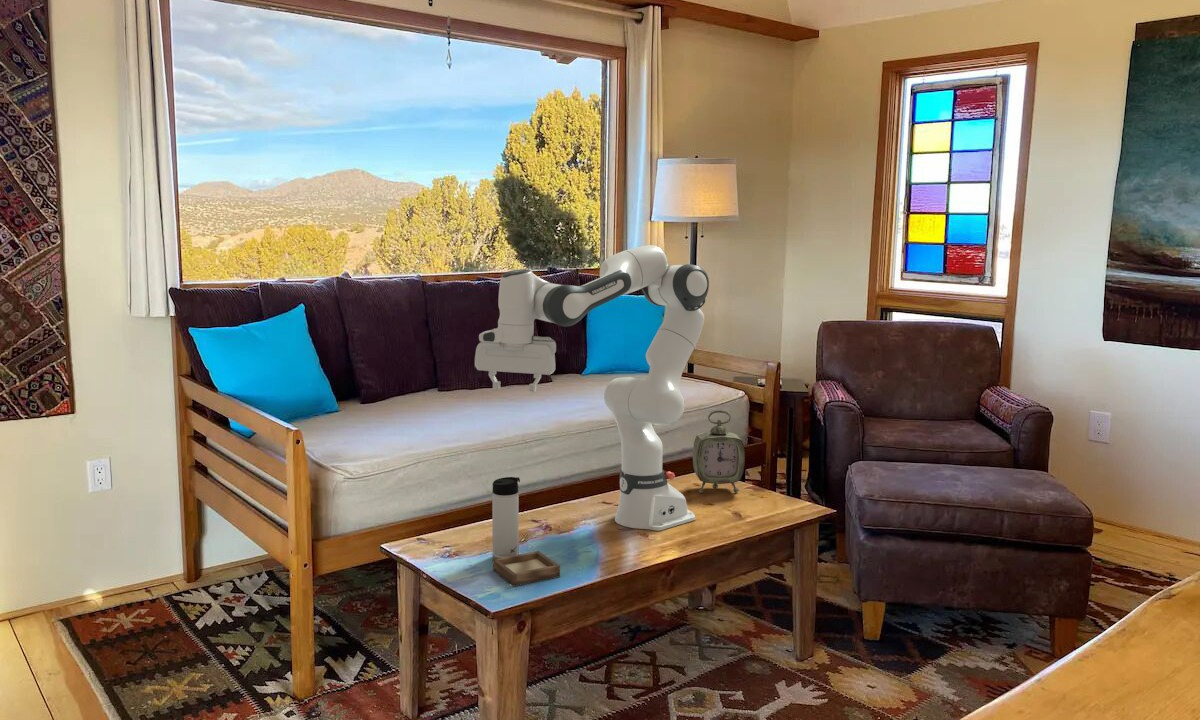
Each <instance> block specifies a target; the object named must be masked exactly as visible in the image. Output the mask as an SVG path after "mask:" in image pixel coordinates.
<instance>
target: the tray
mask: <svg viewBox="0 0 1200 720" xmlns="http://www.w3.org/2000/svg"><path fill="white" fill-rule="evenodd" d="M492 571H493V572H494V573H495V574H497V575H498V576H499V577H501V579H503V580H504V581H505V582H506V583H508V584H509V585H510V584H511V585H512V586H511V585H510V586H511V587H515V586H514V585H518V586H521V585H520V584H523V585H526V584H527V583H528V584H531V583H535V582H536V583H537V582H542V581H545V580H551V578H552V579H556V578H561V565H560V564H558V563H557V562H556V561H554V560H552V559H551V558H549V557H548V556H547V555H545V554H544V553H542V552H541V551H539V550H536V551H531V552H527V553H519V555H515V556H509V557H504V558H499V559H493V558H492Z"/></svg>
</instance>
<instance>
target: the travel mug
mask: <svg viewBox="0 0 1200 720" xmlns="http://www.w3.org/2000/svg"><path fill="white" fill-rule="evenodd" d="M518 483H521V478H520V477H519V476H518V477H515V476H506V477H505V476H504V477H501V478H498V479H494V481H493V482H492V496H491V499H492V503H491V506H492V510H491V511H492V513H491V514H492V529H491V530H492V560H493V559H499V558H504V557H509V556H515V555H520V553H519V549H520V547H519V537H520V536H519V530H520V529H519V518H520V517H519V513H520V512H519V506H520V504H519V503H520V502H519V484H518Z"/></svg>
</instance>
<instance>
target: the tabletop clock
mask: <svg viewBox="0 0 1200 720" xmlns="http://www.w3.org/2000/svg"><path fill="white" fill-rule="evenodd" d="M717 413H718V414H719V413H723V414H726V415H727V416H728V417H729V418H728V419H727V420H725V421H722V420H721V419H717V421H713V420H712V419H710V417H711V416H712V415H714V414H717ZM731 419H732V415H731V414H730V413H729V412H728V411H726V410H713V411H711V412H710V413H709V414H708V416H707V420H708V422H710V423H712V424H714V425H713V426H712V427H711V429H710V431H705V432H701V433H698V434H696V436H695V439H694V442H693V449H692V465H693V470H694V473H695V475H696V477H697V479H699V481H700V482H701V483H702V485H701V487H700V488H699V487H698V493H700V494H703V493H704V491H705V490H704V487H705V485H706V484H712V488H713V489H714V490H715V489H716V490H717V489H718V488H719V485H722V484H731V485H732V487H733V492H734V493H735V494H737V493H739V491H740V489H739V487H736V484H735V483H737V482H740V481H741V479H742V477H743V474H744V471H745V462H746V457H745V446H744V441H743V440H742V439H741V438H740V437H739V436H738V434H735V433H734V432H731V431H730V432H729V431H728V429H727V428H726V427H725V426H724V425H725V424H727V423H729V422H730V421H731Z"/></svg>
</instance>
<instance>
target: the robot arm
mask: <svg viewBox="0 0 1200 720" xmlns="http://www.w3.org/2000/svg"><path fill="white" fill-rule="evenodd" d="M709 287H710V280H709V275H708V273H707V272H706V270H705V269H704V268H702V267H700V266H698V265H695V264H692V263H690V264H689V263H688V264H687V263H686V264H674V265H671V264H669V263H668V258H667V255H666V253H665V252H664V250H663V249H661V247H659V246H657V245H653V244H649V245H642V246H637V247H632V248H629V249H626V250H621V251H620V252H617V253H615V254H612V255H611V256H609V257H607V258H605V260H603V261H602V263H601V265H600V268H599V278H595V279H594V280H591V281H589V282H587V283H585V284H582V285H578V286H577V285H570V284H560V283H559V284H558V283H553V282H550V281H547V280H544V279H542V278H541V277H539V276H537V275H536V274H534V272H533V271H532V270H530V269H526V268H523V269H513V270H508V271H506V272H504V273H503V274H502V276H501V277H500V281H499V288H498V309H499V318H498V320H497V327H496V328H491V329H490V330H485V331H482V332H481V333H479V335H478V340H479V343H478V344H477V346H476V349H475V355H474V368H475V369H476V370H477V371H484V372H488V377H489V379H490V380H491V382H492V389H493V390H500V389H501V381H500V380H498V379H497V377H496V375H497V372H503V373H515V374H516V373H517V374H533V379H534V381H533V383H529V385H528V386H529V387H528V388H529V389H528V391H529V392H531V393H532V392H535V393H536V391H537V387H538V383H540V380H541V379H542V375H547V376H550V375H552V374H554V372H555V371H556V355H555V353H556V352H557V343H556V341H555V340H554V339H553V338H551V336H538V335H534V331H535V330H534V328H535V326H534V325H535V324H534V323H535V320H540V321H544V322H548V323H553V324H555V325H558V326H559V327H567V328H568V327H572V326H574V325H576V324H577V323H579V322H580V321H581V320H582V319H583V318H584V317H585V316H586V315H587V314H588V313H589V312H591V311H592V310H593V309H596V308H598V307H600V306H602V305H604V304H606V303H608V302H611V301H613V300H614V299H617V298H619V297H621V296H624V295H627V294H631V293H634V292H636V291H639V290H641V291H642V294H643V295H644V297H645V299H646V301H647V302H649V303H650V304H652V305H653V306H658V307H666V309H665V310H666V312H665V317H664V320H663V322H661V323H662V324H661V325H660V326H659V328H658V329H657V332H656V334H655V336H653V339H652V341H651V343H650V345H649V347H648V348H647V351H646V353H645V359H646V362H647V364H648V366H649V370H648V375H647V377H646V379H641V378H636V377H633V376H625V377H624V376H622V377H615V378H614V379H612V380H610V381H609V382H608V384H607V385H606V387H605V389H604V390H605V391H604V397H603V398H604V404H605V405H606V407H607V409H608V410H609V411H610V412H611V414H612V416H613V418H614V420H615V424H616V426H617V429H618V434H619V437H620V442H621V444H620V445H621V469H620V470H619V491H620V492H619V499H618V506H617V509H616V512H615V513H616V514H615V516H614V522H616V524H618V525H621V526H622V527H627V528H630V529H631V528H632V529H640V530H641V529H643V530H651V531H658V532H659V531H663V530H667V529H669V528H673V527H675V526H680V525H683V524H686V523H690V522H693V521H695V520H696V515H695V513H694V512H693V511H692V510H689V509H688V503H687V499H686V497H685V496H684V494H683V493H681V491H679V490H678V489H676V488H675V487H674V486H673V485H671V484H670V483H669V482H668V480H670V481H673V480H674V479H675V478H676V475H675V473H674V472H671V471H666V470H664V469H663V453H664V451H663V449H664V445H663V442H662V440H661V437H660V436H658V434H657V433H656V431H655V429H654V427H653V425H655V426H664V425H665V426H670V425H674V424H676V423H677V422H678V421H679V420H680V419H681V417H682V416H683V414H684V411H685V399H684V396H683V394H682V391H681V381H682V380H681V378H682V375H683V373H684V370H685V367H686V366H687V364H688V361H689V359H690V357H691V356H692V353H693V351H694V350H695V348H696V346H697V344H698V341H699V339H700V336H701V333H702V330H703V328H704V325H705V318H706V317H705V313H704V312H703V311H702V310H701V308H702V307H703V306H704V305H705V303H706V298H707V297H708V293H709V290H710V289H709Z"/></svg>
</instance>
